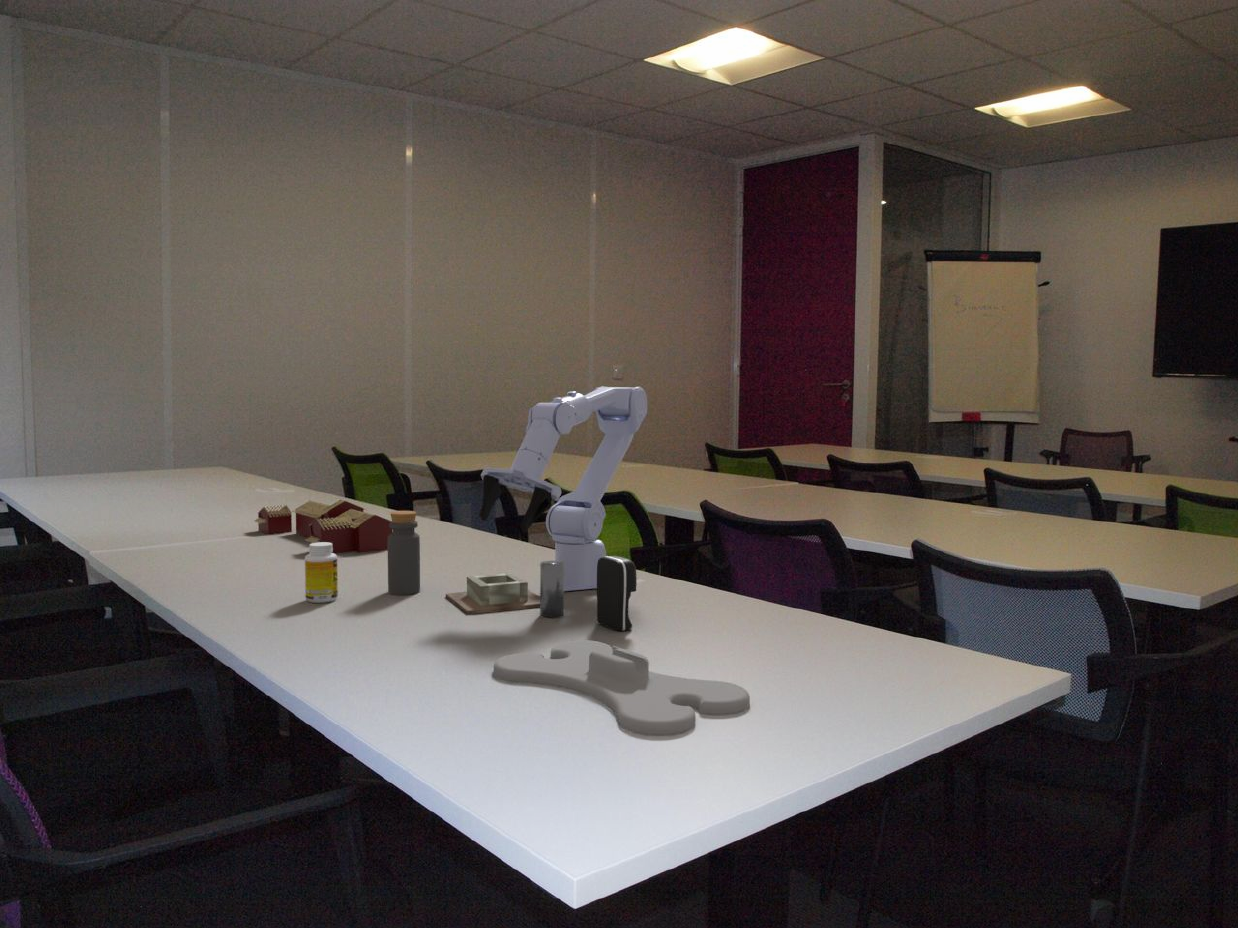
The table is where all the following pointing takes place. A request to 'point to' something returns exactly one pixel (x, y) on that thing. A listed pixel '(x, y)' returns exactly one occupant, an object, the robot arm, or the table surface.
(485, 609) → the socket
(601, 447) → the robot arm
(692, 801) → the table surface
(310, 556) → the supplement bottle
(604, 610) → the battery charger
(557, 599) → the peg
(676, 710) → the holder
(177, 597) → the table surface
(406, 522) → the bottle
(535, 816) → the table surface
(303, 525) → the toy houses
